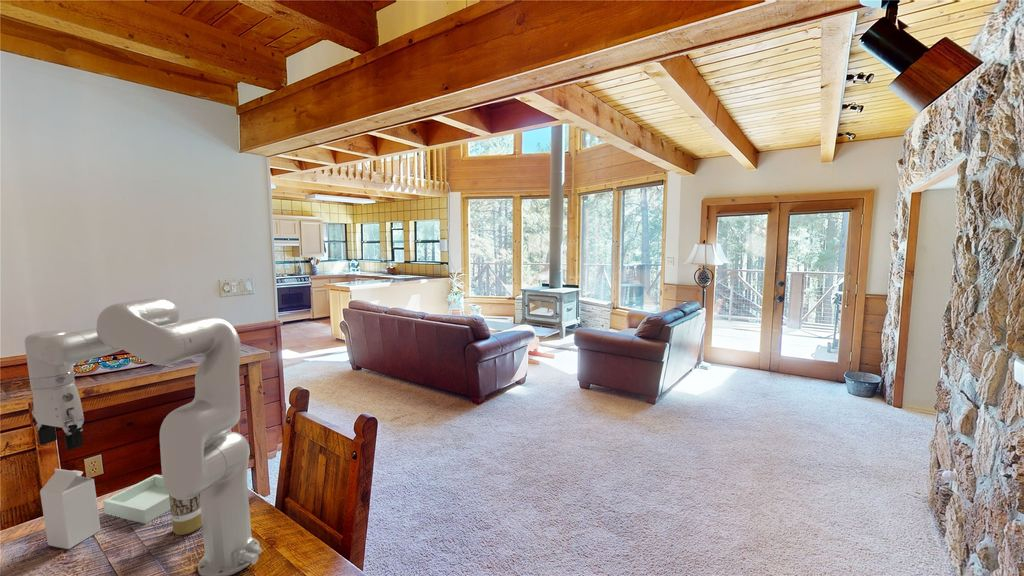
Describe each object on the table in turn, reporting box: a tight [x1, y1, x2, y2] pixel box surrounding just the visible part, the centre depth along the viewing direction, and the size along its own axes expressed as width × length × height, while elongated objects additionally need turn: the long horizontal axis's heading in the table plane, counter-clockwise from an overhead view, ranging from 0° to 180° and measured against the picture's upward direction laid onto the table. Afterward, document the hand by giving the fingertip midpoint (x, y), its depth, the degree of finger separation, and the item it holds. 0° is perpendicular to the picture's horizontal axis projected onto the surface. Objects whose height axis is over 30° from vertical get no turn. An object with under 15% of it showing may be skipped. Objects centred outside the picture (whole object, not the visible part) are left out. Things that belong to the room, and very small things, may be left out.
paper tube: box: [169, 494, 202, 536], centre depth 114 cm, size 7×7×25 cm
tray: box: [102, 474, 171, 525], centre depth 126 cm, size 16×14×4 cm
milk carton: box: [39, 468, 102, 550], centre depth 110 cm, size 7×7×19 cm
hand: (61, 445), depth 108 cm, fingers open, 9 cm apart
